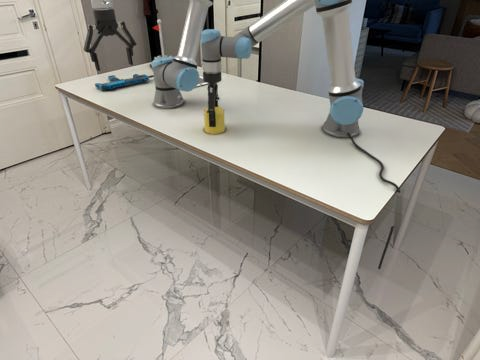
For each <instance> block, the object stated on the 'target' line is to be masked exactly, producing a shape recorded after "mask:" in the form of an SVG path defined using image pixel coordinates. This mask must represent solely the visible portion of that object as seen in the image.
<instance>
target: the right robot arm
mask: <svg viewBox="0 0 480 360" xmlns="http://www.w3.org/2000/svg"><path fill="white" fill-rule="evenodd" d="M352 4H353V0H283V1H282V2H280V3H279V4H278V5H276V6H275V7H274V8H272V9H270V10H269V11H268V12H266V13H265V14H263V15H262V16H260V17H259V18H258V19H256V20H255V21H254V22H252V23H251V24H250V25H248V26H246V27H245V28H244V29H242V30H240V32H238V33H237V34H235V35H233V36H223V35H222V34H221V30H219V29H214V28H211V29H210V28H208V29H203V31H202V33H201V40H200V47H201V61H202V62H201V63H200V65H201V66H202V71H203V72H202V77H203V81H204V82H206V83H209V84H207V98H208V99H207V104H208V105H207V108H208V111H207V113H209V127H216V116H215V107H219V100H220V96H219V93H218V92H219V91H218V90H219V89H218V88H219V85H218V83H220V82H222V78H223V77H222V58H227V59H228V58H230V59H240V60H243V59H246V60H247V59H250V58H251V55H252V50H253V47H255V46H256V45H257V44H259V43H261V42H262V41H264V40H265V39H266V38H268V37H270V36H271V35H272V34H274V33H275V32H277V31H279V30H280V29H282V28H283V27H285V26H286V25H288V24H289V23H291V22H292V21H294V20H295V19H297V18H298V17H300V16H302V15H303V14H304V13H306V12H308V11H309V10H310V9H312V8H313V7H315V11H316V12H315V13H316V14H317V15H318V16H320V17H321V21H322V27H323V35H324V41H325V49H326V55H327V62H328V68H329V70H328V71H329V76H330V82H331V85H330V86H329V87H328V89H327V91H328V98H329V104H330V107H329V112H328V115H327V117H326V120H325V121H324V123H323V126H322V130H323V132H324V133H325V134H326V135H329V136H332V137H335V138H339V139H341V138H342V139H350V141H351V143H352V145H353V146H354V147H355V148H357V149H358V150H359V151H361V152H362V153H364V154H365V155H367V156H368V157H369V158H371V159H372V160H374V161H375V162H377V163H378V164H379V165H380V170H379V173H378V177H379V179H380V180H381V181H382V182H384V183H387V184H390V185H391V186H393V187H394V188H395V189H396V192H397V193H399V194H400V193H401V189H400V187H399V186H398V184H396V183H395V182H393V181H391V180H388V179H386V178H384V177H383V172H384V169H385V166H384V164H383V162H382V161H381V160H380V159H378V158H377V157H376V156H374V155H372V154H371V153H369V152H368V151H367V150H365V149H364V148H362V147H360V146H359V145H358V144H357V143H356V142H355V140H354V137H356V136H357V135H359V132H360V125H359V120H360V118H362V115H363V112H364V103H363V90H364V88H365V87H364V84H365V82H364V80H363V79H361V78H358V77H356V71H355V62H354V54H353V53H354V51H353V43H352V35H351V26H350V25H351V23H350V17H349V9H350V7H351V6H352ZM394 229H395V225H393V226H390V229H389V233H388V236H387V240H386V243H385V246H384V248H383V251H382V254H381V257H380V261H379V263H378V267H377V270H381V269H382V265H383V263H384V258H385V255H386V253H387V251H388V248H389V245H390V242H391V238H392V236H393V232H394Z"/></svg>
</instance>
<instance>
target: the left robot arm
mask: <svg viewBox="0 0 480 360" xmlns="http://www.w3.org/2000/svg"><path fill="white" fill-rule="evenodd" d="M214 1H215V0H189V4H188V7H187V13H186V17H185V21H184V26H183V29H182V34H181V38H180V43H179V47H178V51H177V54H176V56H172V57H169V56H167V57H164V58H158V59H153V60H152V61H151V63H149V66H150V68H151V69H152V72H153V73H152V75H154V77H153V81H154V87H155V91H154V98H153V105H154V106H155V107H156V108H159V109H176V108H178V107H180V106H182V105H183V104H184V97H183V95H182V93H181V92H186V93H188V92H192V91H193V90H195V89H196V86H197V85H198V82H199V76H200V73H199V71H198V66H199V65H198V63H197V61H196V60H197V56H198V52H199V48H200V45H201V33H202V31H204V28H205V23H206V20H207V14H208V11H209V8H210V7H211V6H213V5H214ZM90 4H91V8H92V9H93V10H92V14H93V18H94V23H95V24H89V23H88V24H87V25H86V27H87V32H86V36H85V41H84V45H83V52H85V53H89V57H90V60H91V62H92V63H94V67H95V70H96V71H97V72H100V71H101V68H100V63H99V58H98V54H97V53H96V51H97V48H98V46H99V44H100V42H101V40H102V39H103V37H109V36H111V37H113V36H114V35H115V36H116V37H117V39H119V40H120V41H121V42H122V43H123V44H125V45H126V46H127V47H125V50H126V56H127V62H128V65H129V66H134V61H133V57H134V49H133V48H134V47H135V46H137V42H136V41H135V39H134V37H133V36H132V34H131V32H130V31H129V30H128V28H127V25H126V23H125V21H123V20H120V21H118V22H117V18H116V12H115V9H114V1H113V0H90ZM118 28H119V29H121V30H122V32H123V33H124V35H125V36H123V35H122V34H121V33H120V31H119V30H118ZM95 29H96V30H97V32H96V35H95V37H94V39H93V35H94V31H95ZM125 37H126V38H127V39H126V38H125ZM92 40H93V42H92Z"/></svg>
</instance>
